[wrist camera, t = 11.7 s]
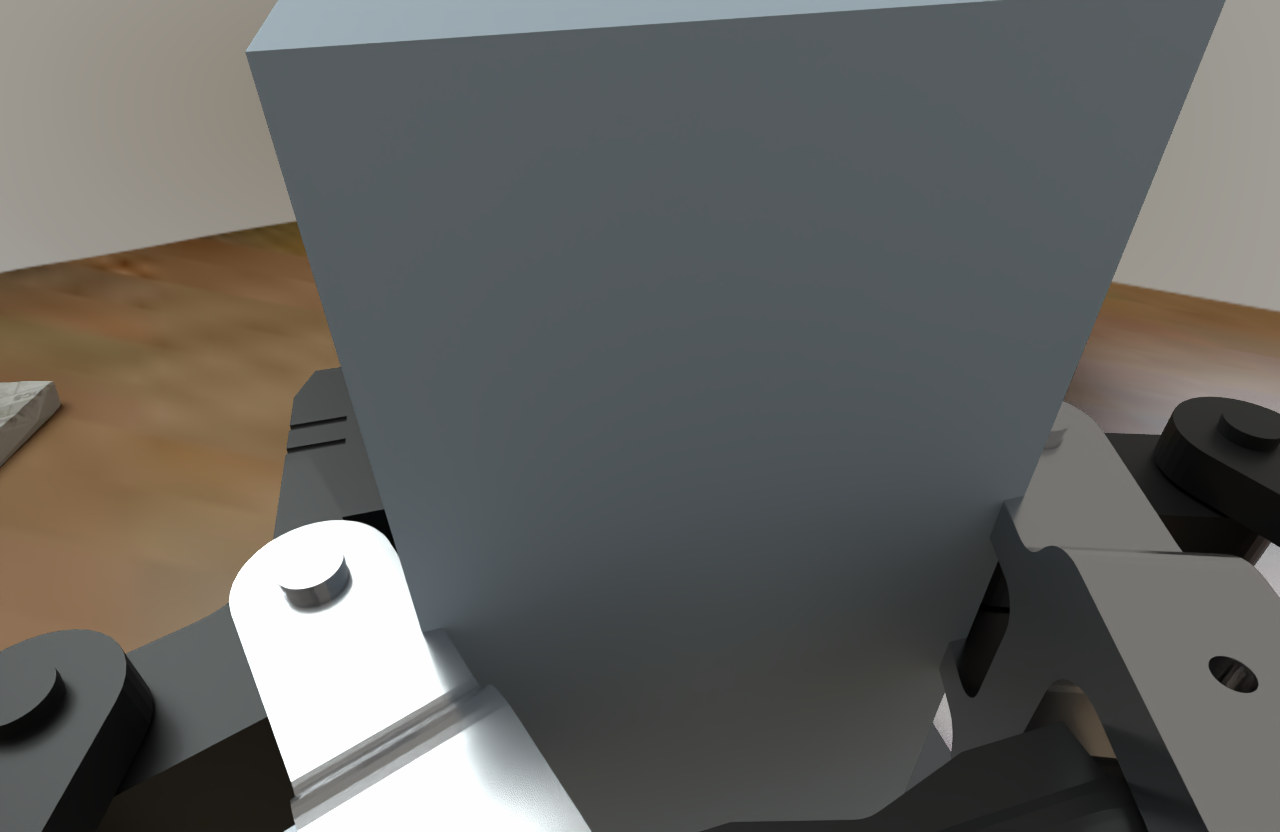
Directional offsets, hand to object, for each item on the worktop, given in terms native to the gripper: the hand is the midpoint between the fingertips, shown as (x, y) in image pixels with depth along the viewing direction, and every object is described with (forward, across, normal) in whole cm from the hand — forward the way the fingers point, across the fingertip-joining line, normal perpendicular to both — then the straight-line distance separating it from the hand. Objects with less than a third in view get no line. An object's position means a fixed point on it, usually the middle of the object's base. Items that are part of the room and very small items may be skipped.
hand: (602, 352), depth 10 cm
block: (-3, 0, +7) cm, 7 cm away
